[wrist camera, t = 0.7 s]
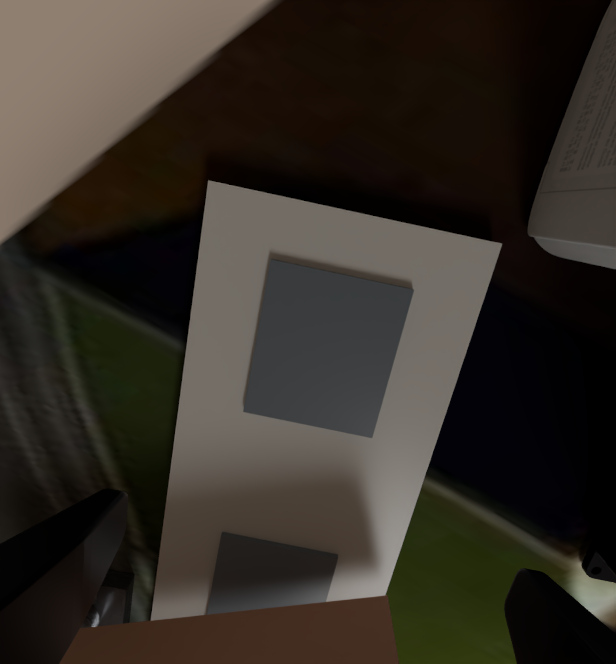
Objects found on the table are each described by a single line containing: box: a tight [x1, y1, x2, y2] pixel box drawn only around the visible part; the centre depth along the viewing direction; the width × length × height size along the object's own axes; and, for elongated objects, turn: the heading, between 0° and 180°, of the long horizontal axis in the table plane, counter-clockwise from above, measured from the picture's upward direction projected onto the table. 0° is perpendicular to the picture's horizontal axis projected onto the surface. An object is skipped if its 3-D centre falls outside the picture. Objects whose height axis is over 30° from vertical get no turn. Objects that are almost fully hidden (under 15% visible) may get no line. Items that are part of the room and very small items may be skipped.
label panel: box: [151, 180, 502, 621], centre depth 20 cm, size 12×26×1 cm, turn 168°
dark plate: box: [81, 570, 134, 628], centre depth 22 cm, size 5×5×3 cm
